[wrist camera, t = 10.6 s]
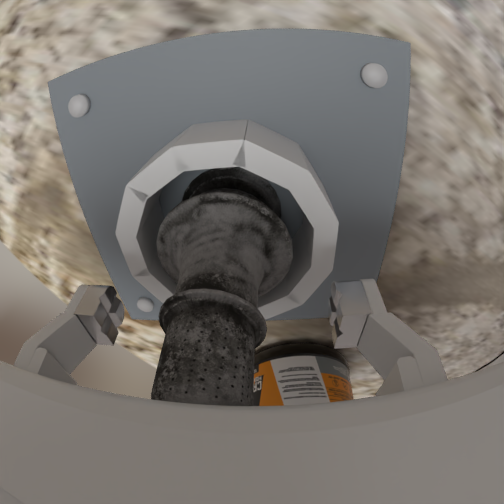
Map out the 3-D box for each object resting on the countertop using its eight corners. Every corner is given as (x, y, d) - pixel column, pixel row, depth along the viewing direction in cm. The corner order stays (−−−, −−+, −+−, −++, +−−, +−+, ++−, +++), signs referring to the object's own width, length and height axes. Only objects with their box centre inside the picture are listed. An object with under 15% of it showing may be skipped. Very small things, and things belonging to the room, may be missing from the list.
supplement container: (297, 320, 22) (308, 474, 13) (366, 360, 26) (386, 470, 17) (218, 368, 27) (207, 483, 18) (291, 396, 31) (294, 490, 22)
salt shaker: (227, 135, 12) (137, 414, 3) (310, 214, 15) (357, 462, 6) (155, 213, 15) (61, 432, 6) (233, 272, 18) (214, 481, 8)
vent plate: (363, 304, 21) (377, 353, 17) (135, 309, 22) (119, 355, 18) (401, 42, 10) (452, 44, 6) (58, 79, 11) (3, 97, 7)
